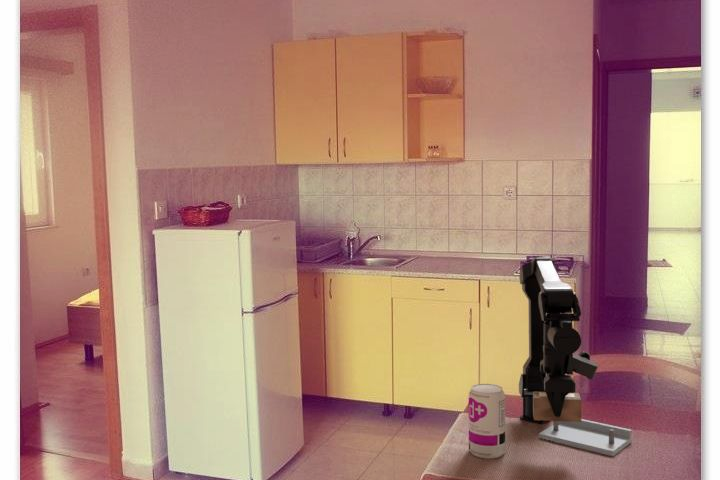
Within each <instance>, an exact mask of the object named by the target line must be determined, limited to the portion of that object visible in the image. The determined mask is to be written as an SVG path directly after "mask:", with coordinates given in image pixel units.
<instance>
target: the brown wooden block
mask: <svg viewBox="0 0 720 480" xmlns="http://www.w3.org/2000/svg"><path fill="white" fill-rule="evenodd" d="M533 417H534V420H543V421H546V422H553V421H565V422H581V419H582V399H581V396H580V392H575V393H569V394H567V395H566V397H565V400H564V404H563V408H562V412H561V415H560V417H555V415H554V412H553V410H552V407H551V405H550V402H549V400H548V397H547V394H546V392H539V391H533Z"/></svg>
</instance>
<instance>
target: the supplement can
mask: <svg viewBox="0 0 720 480" xmlns="http://www.w3.org/2000/svg"><path fill="white" fill-rule="evenodd" d="M470 387H471V389H470V391H469V392H468V450H469V452H470V453H471V454H472V456H474V457H477V458H480V459H490V460H491V459H492V460H493V459H497V458H500V457H502V456H503V455H504V454H505V453H506V393H505V391H504V389H503V387H502V386H500V385H498V384H492V383H477V384H474V385H472V386H470Z"/></svg>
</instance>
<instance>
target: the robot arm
mask: <svg viewBox="0 0 720 480" xmlns="http://www.w3.org/2000/svg"><path fill="white" fill-rule="evenodd" d="M556 267H557V266H556V264H555V260H554V258H553V257H552V258H551V257H550V256H549V257H545V256H544V257H543V256H541V257H534V258H532V259H531V260H530V261H529V262H527V263H525V264H523V265H521V268H520V270H519V285H521V289H522V292H523V294H524V296H525V297H526V298H527V300H528V357H527V359H526V361H525V362H524V364H523V366H522V373H520V377H519V381H518V393H519V394H520V395H519V396H520V398H522V415H520V416H519V419H520V420H524V421H528V420H529V422H532V421H534V422H533V423H537V422H539V423H538V424H545V423H546V422H547V421H543V420H534V417H533V391H539V392H546V394H547V397H548V400H549V402H550V405H551V407H552V410H553V412H554V415H555V417H560V415H561V412H562V408H563V404H564V400H565V397H566V395H567V394H569V393H576V381H575V379H574V378H573V377H572V375H574V373H576V374H578V375H581V376H583V377H586V379H589V380H594V378H595V375H596V372H597V370H598V368H599V365H598V363H597V362H595V361H594V360H593V359H591V356H590V353H589V352H586V351H584V350H582V351H581V352H580V353H579V354H577V353H576V352H577V351H578V350H579V348H580V347H581V345H582V337H581V335H580V333H579V332H578V331H577V330H576V329H575V328H574V327H573V322H580V317H581V315H582V311H581V306H580V301H579V297H578V296H577V293H576V292H574V290H573V288H572V287H571V286H570V284H568V283H566V282H563V281H562V280H561V279H560V276H559V275H558V272H557V269H556ZM575 353H576V354H575ZM544 422H545V423H544Z"/></svg>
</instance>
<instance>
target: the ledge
mask: <svg viewBox="0 0 720 480" xmlns="http://www.w3.org/2000/svg"><path fill="white" fill-rule="evenodd" d="M552 422H553V423H552V425H550V426H548V427H547V428H546V429H543V430H542V431H541V432H539V433H538V439H540V438H543V439H542V440H544V439H546V440H545V441H548V440H551V441H550V442H552V441H554V442H553V443H556V442H557V444H560V443H561V444H560V445H564V446H569V447H573V448H578V449H581V450H586V451H590V452H592V453H593V452H594V453H598V454H603V455H606V456H610V457H614V456H616V455H617V454H619V453H620V452H621V451H622V450H624V449H625V448H626V447H628V445H630V444H631V443H632V435H633V434H632V433H633V432H632V429H630V428H625V427H621V426H615V425H611V424H607V423H603V422H597V421H592V420H588V419H584V418H581V422H565V421H552Z"/></svg>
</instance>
